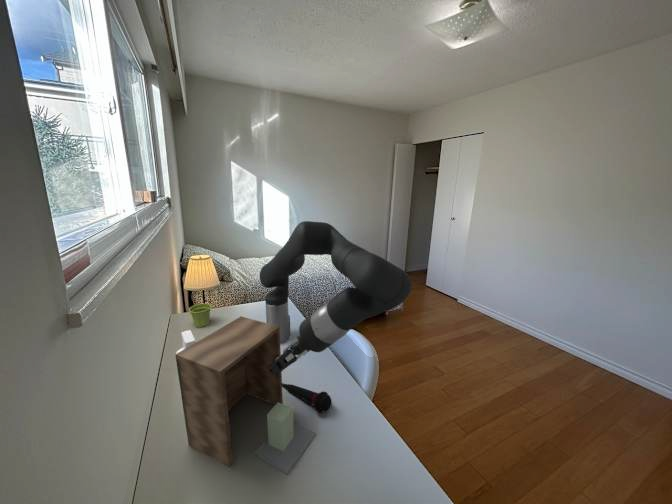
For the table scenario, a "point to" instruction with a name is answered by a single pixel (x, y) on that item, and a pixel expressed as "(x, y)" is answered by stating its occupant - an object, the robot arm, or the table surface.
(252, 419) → the table surface
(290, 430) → the sage block
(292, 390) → the microphone
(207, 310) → the plant pot
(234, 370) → the walnut cubby
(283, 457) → the slate mat
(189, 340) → the cylinder with rectangular tab
